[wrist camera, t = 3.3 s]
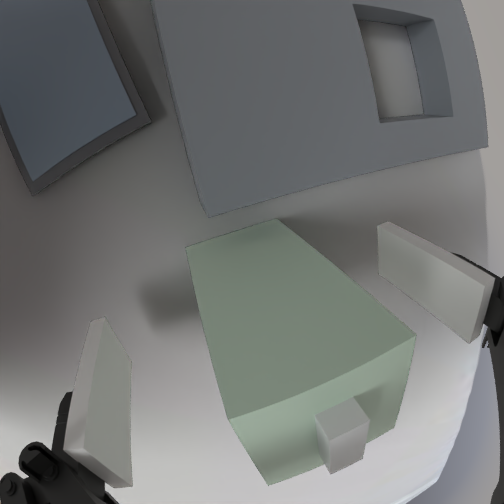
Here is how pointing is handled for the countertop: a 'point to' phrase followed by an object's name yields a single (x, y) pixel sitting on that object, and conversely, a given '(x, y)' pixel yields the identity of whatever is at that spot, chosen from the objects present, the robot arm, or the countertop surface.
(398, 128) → the plate
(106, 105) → the phone
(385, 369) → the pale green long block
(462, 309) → the robot arm
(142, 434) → the countertop surface
